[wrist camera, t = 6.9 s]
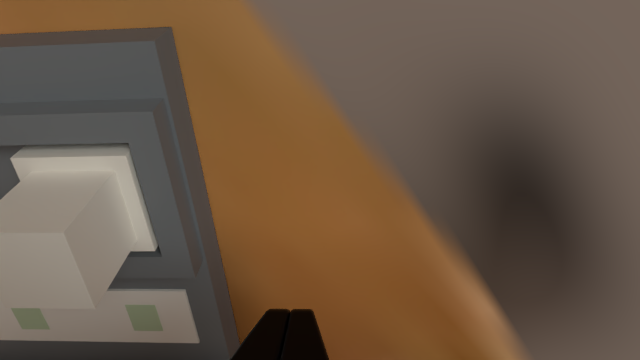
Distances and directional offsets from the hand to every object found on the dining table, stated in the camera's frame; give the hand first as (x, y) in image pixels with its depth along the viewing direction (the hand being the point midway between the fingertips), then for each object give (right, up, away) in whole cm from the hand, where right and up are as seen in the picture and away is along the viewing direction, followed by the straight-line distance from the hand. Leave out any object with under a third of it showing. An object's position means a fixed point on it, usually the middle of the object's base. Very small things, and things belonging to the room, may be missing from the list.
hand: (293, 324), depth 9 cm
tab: (-6, +2, +4) cm, 7 cm away
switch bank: (-7, -1, +8) cm, 11 cm away
